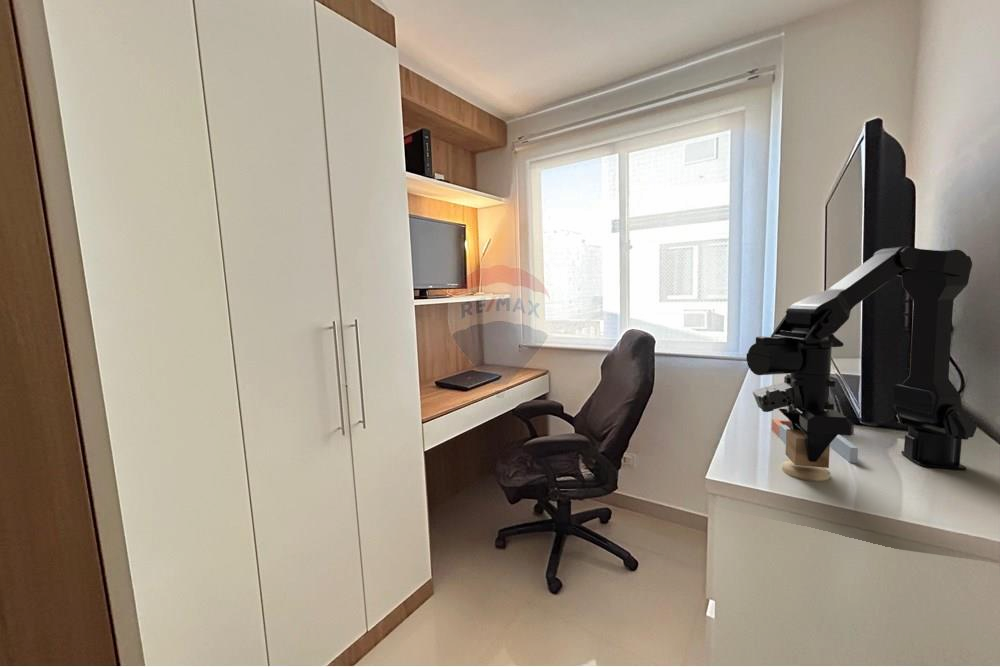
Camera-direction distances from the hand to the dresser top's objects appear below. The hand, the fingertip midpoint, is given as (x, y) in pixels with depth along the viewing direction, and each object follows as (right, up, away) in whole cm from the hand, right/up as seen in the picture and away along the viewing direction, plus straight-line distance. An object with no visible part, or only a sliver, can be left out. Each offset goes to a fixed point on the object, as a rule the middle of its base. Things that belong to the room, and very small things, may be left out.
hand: (806, 455), depth 74 cm
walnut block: (0, -1, 0) cm, 1 cm away
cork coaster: (0, -3, 0) cm, 3 cm away
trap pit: (+13, -1, +18) cm, 22 cm away
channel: (+10, -2, +11) cm, 15 cm away
